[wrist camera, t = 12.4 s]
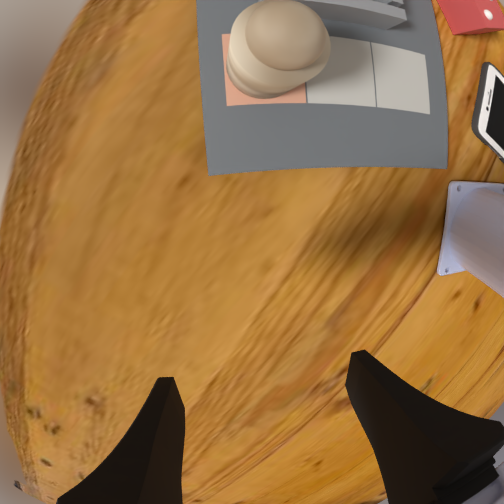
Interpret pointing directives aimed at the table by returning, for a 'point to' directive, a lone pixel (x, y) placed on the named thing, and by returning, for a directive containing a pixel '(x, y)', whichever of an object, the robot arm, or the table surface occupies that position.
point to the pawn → (276, 48)
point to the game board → (332, 93)
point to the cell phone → (490, 109)
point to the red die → (472, 16)
